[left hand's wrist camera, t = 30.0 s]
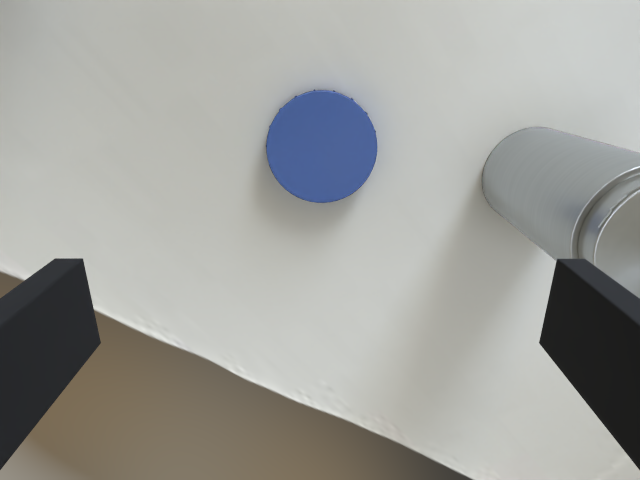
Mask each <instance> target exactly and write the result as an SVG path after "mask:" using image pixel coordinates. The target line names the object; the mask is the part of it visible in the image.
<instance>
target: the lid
mask: <svg viewBox="0 0 640 480" xmlns="http://www.w3.org/2000/svg"><path fill="white" fill-rule="evenodd" d="M375 132H376V131H375V130H374V127H373V125H372V123H371V121H370V119H369V117H368V116H367V113H366V112H364V111H363V109H362V108H361V107H360V106H359V105H358V104H357V103H355V102H354V101H353V99H352V98H351V99H350V98H348V97H347V96H345V95H342V94H340V93H337V92H335V91H334V90H333V91H327V90H317V91H315V90H314V91H310V92H307V93H304V94H301V95H299V96H295V98H293V99H292V100H291V101H289V102H288V103H287V104H286V105H285V106H284V107H283V108H280V111H279V112H278V114H277V115H276V116H275V118H274V120H273V122H272V124H271V125H270V129H269V132H268V136H267V144H266V147H267V158H268V162H269V166H270V168H271V170H272V173H273V174H274V176H275V178H276V179H277V180H278V182H279V183H280V184H281V185H282V186H283V187H284V188H285V189H286V190H287V191H289V192H290V193H291V194H293V195H295V196H296V197H298V198H301V199H303V200H307V201H310V202H317V203H326V202H333V201H337V200H340V199H343V198H345V197H347V196H349V195H351V194H352V193H353V192H355V191H356V190H357V189H358V188H360V187H361V186H362V185H363V183H364V182H365V181H366V180H367V178H368V177H369V175H370V173H371V171H372V169H373V167H374V164H375V160H376V155H377V139H376V134H375Z"/></svg>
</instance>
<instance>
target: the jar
mask: <svg viewBox="0 0 640 480" xmlns="http://www.w3.org/2000/svg"><path fill="white" fill-rule="evenodd" d="M482 187H483V192H484V195H485V198H486V200H487V201H488V203H489V204H490V206H491V207H492V208H493V209H494V210H495V211H496V212H497V213H499V214H500V215H501V216H502V217H504V218H505V219H506V220H507V221H508V222H510V223H511V224H512V225H513V226H514V227H516V228H517V229H518V230H519V231H520V232H522V233H523V234H524V235H525V236H527V237H528V238H529V239H530V240H531V241H533V242H534V243H535V244H536V245H537V246H539V247H540V248H541V249H542V250H543V251H545V252H546V253H547V254H548V255H550V256H551V257H552V258H553V259H554V260H556V261H557V259H586V260H587V261H589V262H590V263H592V264H593V265H594V266H596V267H597V268H598V269H600V270H601V271H603V272H604V273H605V274H607V275H608V276H609V277H611V278H612V279H614V280H615V281H616V282H618V283H619V284H620V285H622V286H623V287H625V288H626V289H627V290H629V291H630V292H631V293H633V294H634V295H636V296H637V297H638V298H640V153H639V152H635V151H631V150H628V149H624V148H620V147H616V146H613V145H609V144H605V143H602V142H598V141H594V140H591V139H587V138H583V137H580V136H576V135H572V134H569V133H565V132H561V131H558V130H554V129H550V128H545V127H531V128H525V129H522V130H519V131H517V132H515V133H513V134H511V135H509V136H508V137H506V138H505V139H504V140H502V141H501V142H500V143H499V144H498V145H497V146H496V147H495V149H494V150H493V151H492V152H491V154H490V156H489V157H488V159H487V161H486V164H485V167H484V170H483V175H482Z"/></svg>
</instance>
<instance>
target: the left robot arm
mask: <svg viewBox="0 0 640 480" xmlns="http://www.w3.org/2000/svg"><path fill="white" fill-rule="evenodd" d="M100 343H101V342H100V338H99V333H98V328H97V323H96V318H95V314H94V309H93V304H92V300H91V295H90V290H89V285H88V281H87V276H86V271H85V267H84V262H83V259H54V260H53V261H51V262H50V263H48V264H47V265H46V266H44V267H43V268H42V269H40V270H39V271H37V272H36V273H35V274H33V275H32V276H31V277H29V278H28V279H26V280H25V281H24V282H22V283H21V284H20V285H18V286H17V287H16V288H14V289H13V290H11V291H10V292H9V293H7V294H6V295H5V296H3V297H2V298H0V470H1V468H2V467H3V466H4V465H5V463H6V462H7V461H8V460H9V458H10V457H11V456H12V454H13V453H14V452H15V451H16V449H17V448H18V447H19V446H20V444H21V443H22V442H23V441H24V439H25V438H26V437H27V436H28V434H29V433H30V432H31V430H32V429H33V428H34V427H35V425H36V424H37V423H38V422H39V420H40V419H41V418H42V417H43V415H44V414H45V413H46V412H47V410H48V409H49V408H50V406H51V405H52V404H53V403H54V401H55V400H56V399H57V398H58V396H59V395H60V394H61V393H62V391H63V390H64V389H65V388H66V386H67V385H68V384H69V382H70V381H71V380H72V379H73V377H74V376H75V375H76V374H77V372H78V371H79V370H80V369H81V367H82V366H83V365H84V363H85V362H86V361H87V360H88V358H89V357H90V356H91V355H92V353H93V352H94V351H95V350H96V348H97V347H98V346H99V345H100ZM539 343H540V345H541V346H542V347H543V348H544V350H545V351H546V352H547V353H548V355H549V356H550V357H551V358H552V360H553V361H554V362H555V364H556V365H557V366H558V367H559V369H560V370H561V371H562V372H563V374H564V375H565V376H566V377H567V379H568V380H569V381H570V382H571V384H572V385H573V386H574V388H575V389H576V390H577V391H578V393H579V394H580V395H581V396H582V398H583V399H584V400H585V401H586V403H587V404H588V405H589V406H590V408H591V409H592V410H593V412H594V413H595V414H596V415H597V417H598V418H599V419H600V420H601V422H602V423H603V424H604V425H605V427H606V428H607V429H608V430H609V432H610V433H611V434H612V436H613V437H614V438H615V439H616V441H617V442H618V443H619V444H620V446H621V447H622V448H623V449H624V451H625V452H626V453H627V454H628V456H629V457H630V458H631V460H632V461H633V462H634V463H635V465H636V466H637V467H638V468H639V470H640V298H638V297H637V296H636V295H634V294H633V293H631V292H630V291H629V290H627V289H626V288H625V287H623V286H622V285H620V284H619V283H618V282H616V281H615V280H614V279H612V278H611V277H609V276H608V275H607V274H605V273H604V272H603V271H601V270H600V269H598V268H597V267H596V266H594V265H593V264H592V263H590V262H589V261H587V260H586V259H557V262H556V267H555V271H554V276H553V281H552V285H551V290H550V295H549V300H548V304H547V309H546V314H545V318H544V323H543V328H542V333H541V337H540V342H539Z"/></svg>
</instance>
